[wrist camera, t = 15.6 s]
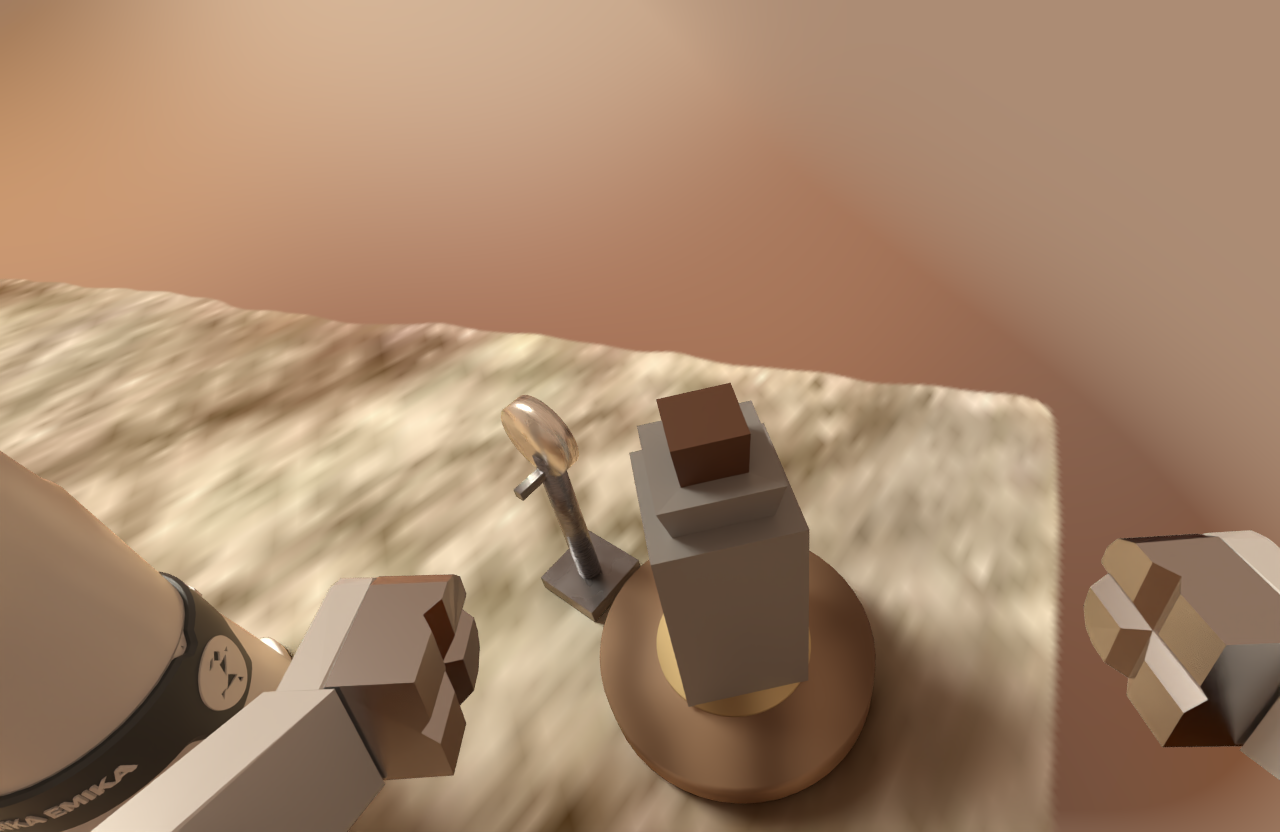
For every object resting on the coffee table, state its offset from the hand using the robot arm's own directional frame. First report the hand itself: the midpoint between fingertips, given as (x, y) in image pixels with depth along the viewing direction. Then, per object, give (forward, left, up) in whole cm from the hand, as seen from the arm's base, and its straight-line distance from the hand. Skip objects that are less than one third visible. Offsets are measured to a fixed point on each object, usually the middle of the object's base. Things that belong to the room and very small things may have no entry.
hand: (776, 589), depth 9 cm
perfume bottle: (+2, +15, -29) cm, 33 cm away
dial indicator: (-6, +24, -32) cm, 41 cm away
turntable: (+2, +15, -32) cm, 36 cm away
